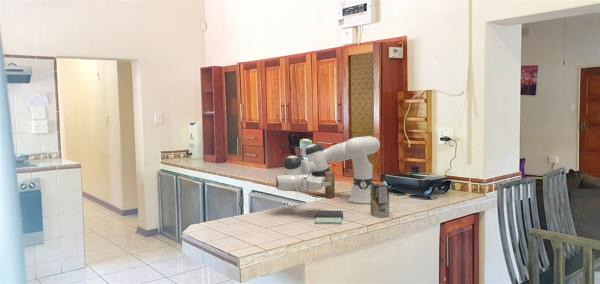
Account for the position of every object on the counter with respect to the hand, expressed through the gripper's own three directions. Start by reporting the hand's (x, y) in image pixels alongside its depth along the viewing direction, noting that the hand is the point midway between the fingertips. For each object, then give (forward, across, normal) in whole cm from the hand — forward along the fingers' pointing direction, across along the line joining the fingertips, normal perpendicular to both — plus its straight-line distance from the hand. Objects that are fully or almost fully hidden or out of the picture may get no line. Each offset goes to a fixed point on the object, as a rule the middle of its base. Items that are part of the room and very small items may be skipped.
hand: (331, 182), depth 245 cm
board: (-1, +17, -17) cm, 24 cm away
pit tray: (-1, +8, -17) cm, 19 cm away
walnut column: (-1, 0, -8) cm, 8 cm away
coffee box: (+25, +2, -17) cm, 30 cm away
